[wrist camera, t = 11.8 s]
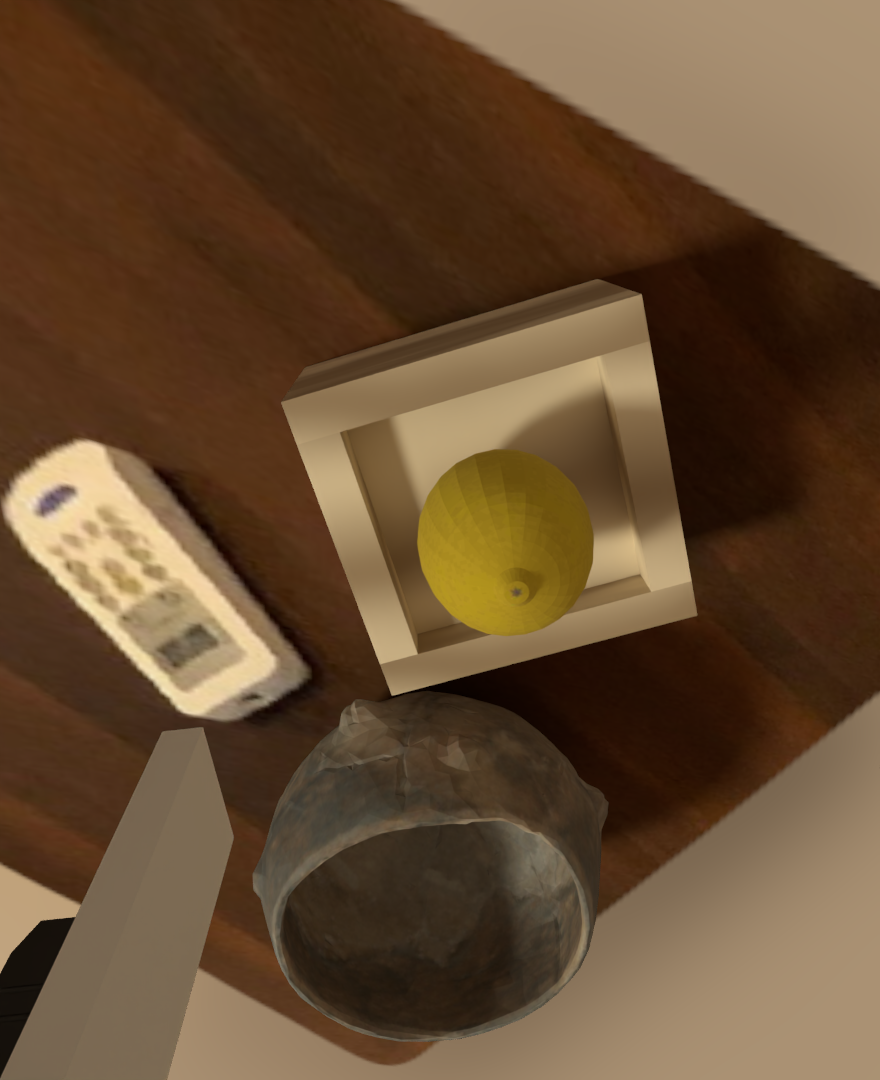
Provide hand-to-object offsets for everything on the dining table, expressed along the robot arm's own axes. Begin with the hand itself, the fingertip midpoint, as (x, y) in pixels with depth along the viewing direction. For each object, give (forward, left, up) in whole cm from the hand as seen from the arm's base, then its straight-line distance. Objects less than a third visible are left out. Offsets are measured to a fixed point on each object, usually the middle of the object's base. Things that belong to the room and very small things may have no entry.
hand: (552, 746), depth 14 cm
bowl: (+16, -4, -19) cm, 26 cm away
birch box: (0, 0, -20) cm, 20 cm away
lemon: (0, 0, -15) cm, 15 cm away
